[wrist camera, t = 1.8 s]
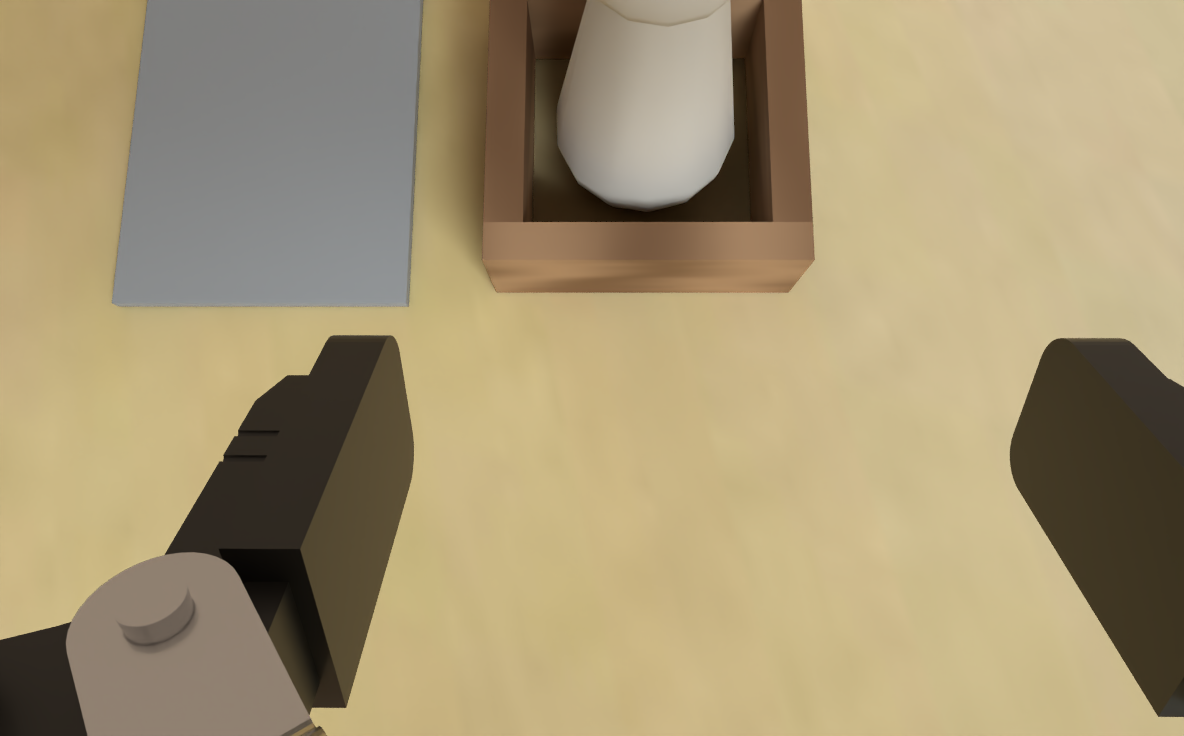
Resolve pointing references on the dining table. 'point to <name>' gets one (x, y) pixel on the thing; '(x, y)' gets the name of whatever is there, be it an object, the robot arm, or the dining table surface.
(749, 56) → the pocket block
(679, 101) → the salt shaker
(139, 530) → the dining table surface
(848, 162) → the dining table surface
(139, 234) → the rubber mat
